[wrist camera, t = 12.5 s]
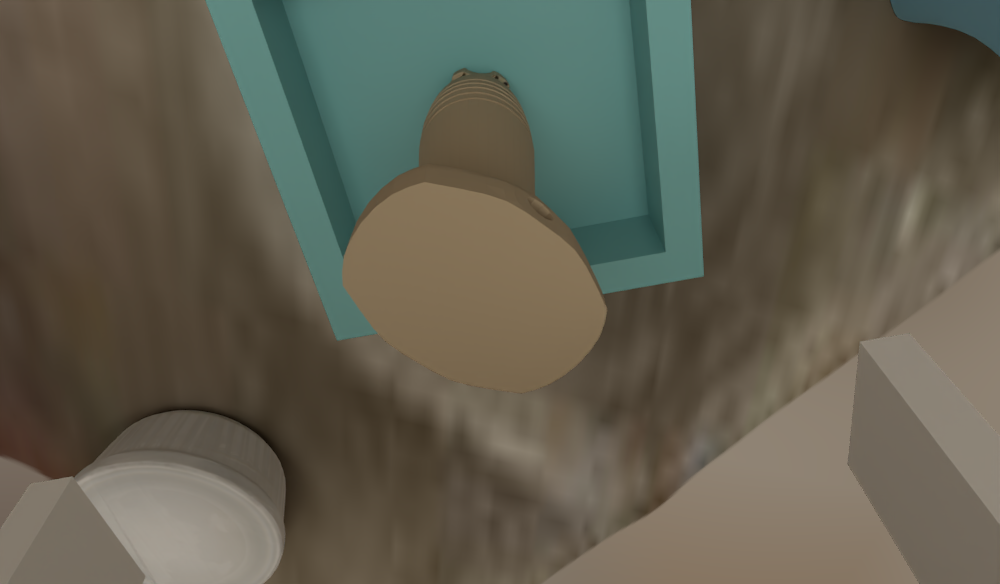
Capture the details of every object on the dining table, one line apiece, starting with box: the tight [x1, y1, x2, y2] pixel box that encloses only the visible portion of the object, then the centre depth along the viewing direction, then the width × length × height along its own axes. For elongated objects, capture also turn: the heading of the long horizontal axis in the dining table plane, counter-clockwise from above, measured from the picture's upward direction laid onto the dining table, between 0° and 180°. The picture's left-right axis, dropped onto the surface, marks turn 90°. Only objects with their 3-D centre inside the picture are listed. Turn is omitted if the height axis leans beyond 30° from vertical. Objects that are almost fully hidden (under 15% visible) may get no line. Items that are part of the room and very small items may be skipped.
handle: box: [342, 68, 607, 394], centre depth 23 cm, size 5×6×15 cm
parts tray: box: [205, 0, 704, 341], centre depth 29 cm, size 16×16×4 cm
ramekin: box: [74, 410, 286, 584], centre depth 40 cm, size 11×11×5 cm
